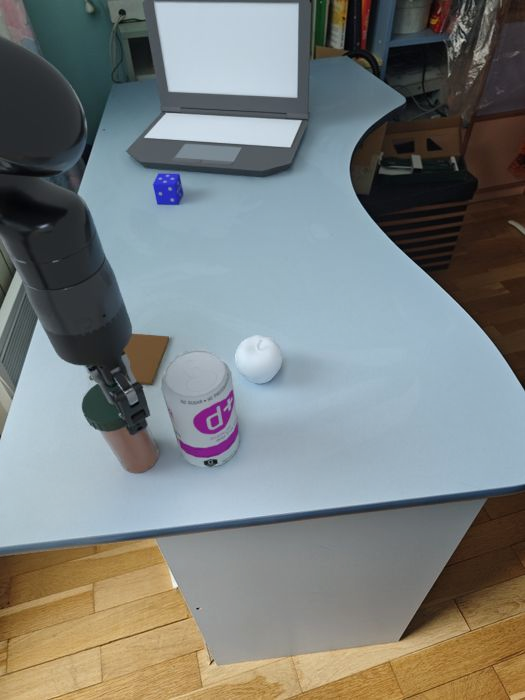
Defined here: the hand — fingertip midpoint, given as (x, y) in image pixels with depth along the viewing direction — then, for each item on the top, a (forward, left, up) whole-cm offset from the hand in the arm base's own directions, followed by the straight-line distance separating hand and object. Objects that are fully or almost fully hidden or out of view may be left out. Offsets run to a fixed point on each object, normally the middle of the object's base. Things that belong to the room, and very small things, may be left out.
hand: (125, 410), depth 57 cm
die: (+67, +15, -11) cm, 69 cm away
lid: (-1, +1, +3) cm, 3 cm away
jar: (0, +1, -11) cm, 11 cm away
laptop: (+94, +9, -11) cm, 95 cm away
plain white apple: (+17, -13, -11) cm, 24 cm away
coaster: (+18, +8, -11) cm, 22 cm away
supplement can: (+4, -8, -11) cm, 14 cm away
